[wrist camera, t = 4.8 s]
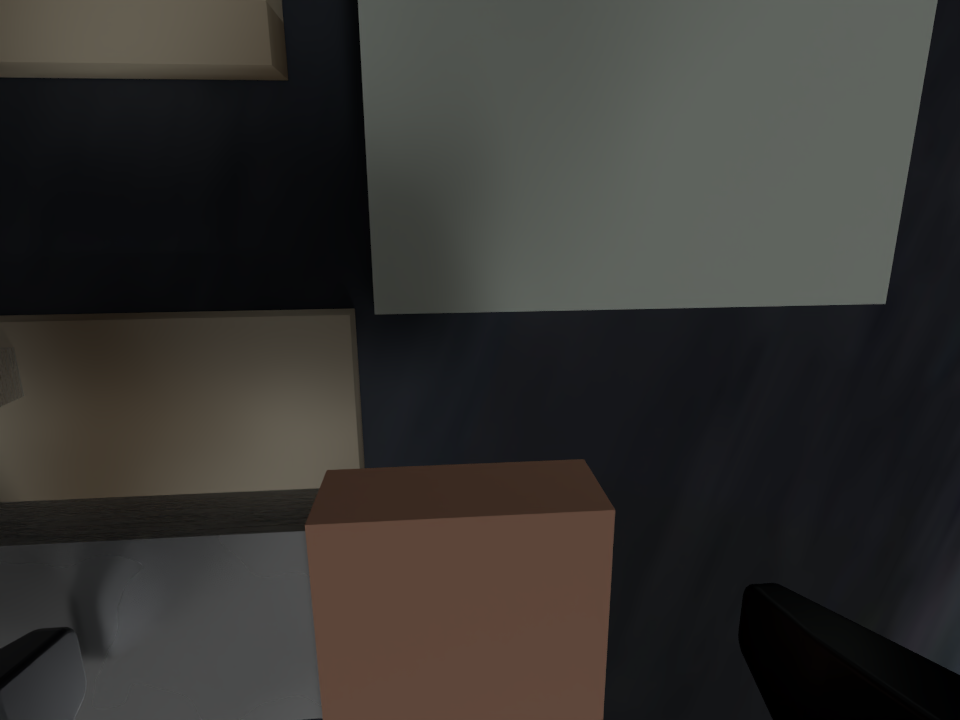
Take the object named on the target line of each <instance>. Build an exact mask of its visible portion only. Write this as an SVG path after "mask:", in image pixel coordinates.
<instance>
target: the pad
mask: <svg viewBox="0 0 960 720" xmlns="http://www.w3.org/2000/svg"><path fill="white" fill-rule="evenodd" d="M936 6H937V0H358V13H359V32H360V50H361V69H362V88H363V106H364V125H365V143H366V162H367V181H368V199H369V218H370V237H371V255H372V274H373V293H374V311H375V314H419V313H467V312H515V311H563V310H611V309H658V308H706V307H754V306H802V305H850V304H885V303H886V297H887V291H888V286H889V280H890V274H891V268H892V262H893V256H894V251H895V245H896V239H897V233H898V227H899V222H900V216H901V210H902V204H903V198H904V192H905V187H906V181H907V175H908V169H909V163H910V157H911V152H912V146H913V140H914V134H915V128H916V123H917V117H918V111H919V105H920V99H921V93H922V88H923V82H924V76H925V70H926V64H927V59H928V53H929V47H930V41H931V35H932V29H933V24H934V18H935V12H936Z"/></svg>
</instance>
